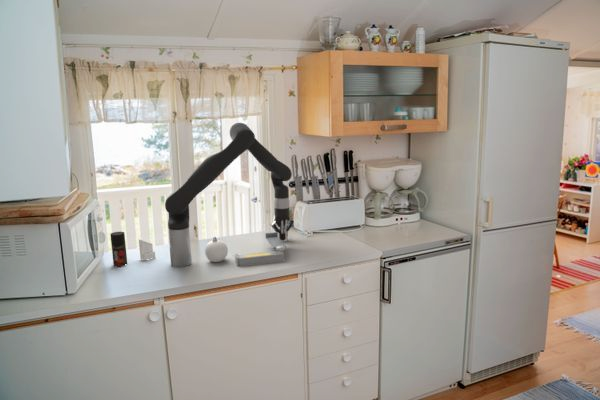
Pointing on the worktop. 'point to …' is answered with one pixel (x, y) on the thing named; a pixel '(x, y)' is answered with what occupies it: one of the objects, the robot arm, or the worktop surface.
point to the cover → (275, 241)
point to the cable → (257, 255)
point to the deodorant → (118, 248)
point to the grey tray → (259, 258)
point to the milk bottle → (278, 233)
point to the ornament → (216, 250)
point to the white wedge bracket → (146, 250)
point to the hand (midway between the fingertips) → (282, 239)
